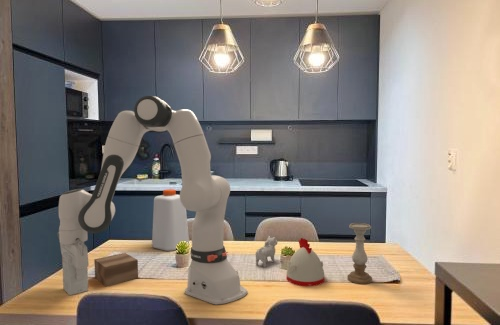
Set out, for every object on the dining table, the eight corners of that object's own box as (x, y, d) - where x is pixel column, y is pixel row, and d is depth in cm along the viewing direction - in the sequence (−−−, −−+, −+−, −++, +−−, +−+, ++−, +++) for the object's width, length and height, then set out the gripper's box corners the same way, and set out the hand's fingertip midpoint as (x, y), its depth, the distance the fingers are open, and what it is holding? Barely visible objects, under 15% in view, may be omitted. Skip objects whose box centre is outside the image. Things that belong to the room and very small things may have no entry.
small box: (88, 290, 127) (87, 253, 127) (69, 295, 123) (67, 257, 123) (81, 284, 134) (80, 248, 133) (62, 288, 129) (61, 252, 129)
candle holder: (342, 277, 137) (342, 223, 136) (361, 274, 140) (362, 221, 139) (357, 285, 129) (357, 228, 128) (377, 282, 132) (377, 226, 131)
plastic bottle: (192, 244, 183) (191, 189, 182) (170, 252, 171) (168, 192, 169) (171, 240, 192) (170, 187, 190) (148, 247, 179) (146, 190, 178)
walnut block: (138, 278, 139) (137, 259, 138) (106, 286, 131) (105, 267, 131) (125, 269, 148) (125, 252, 148) (94, 277, 140) (94, 259, 140)
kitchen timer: (312, 270, 145) (311, 233, 144) (331, 282, 132) (331, 241, 131) (280, 275, 140) (280, 236, 139) (297, 288, 127) (297, 246, 126)
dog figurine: (280, 259, 159) (280, 235, 158) (264, 268, 148) (264, 242, 148) (270, 257, 162) (270, 233, 161) (253, 265, 151) (253, 240, 151)
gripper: (92, 240, 121) (94, 281, 122) (75, 229, 137) (76, 265, 138) (72, 243, 117) (73, 286, 118) (56, 232, 133) (57, 269, 134)
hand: (75, 275), depth 128 cm, fingers closed on small box, 8 cm apart
